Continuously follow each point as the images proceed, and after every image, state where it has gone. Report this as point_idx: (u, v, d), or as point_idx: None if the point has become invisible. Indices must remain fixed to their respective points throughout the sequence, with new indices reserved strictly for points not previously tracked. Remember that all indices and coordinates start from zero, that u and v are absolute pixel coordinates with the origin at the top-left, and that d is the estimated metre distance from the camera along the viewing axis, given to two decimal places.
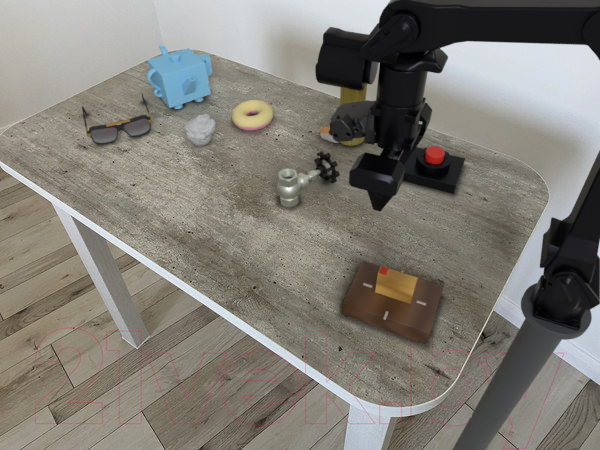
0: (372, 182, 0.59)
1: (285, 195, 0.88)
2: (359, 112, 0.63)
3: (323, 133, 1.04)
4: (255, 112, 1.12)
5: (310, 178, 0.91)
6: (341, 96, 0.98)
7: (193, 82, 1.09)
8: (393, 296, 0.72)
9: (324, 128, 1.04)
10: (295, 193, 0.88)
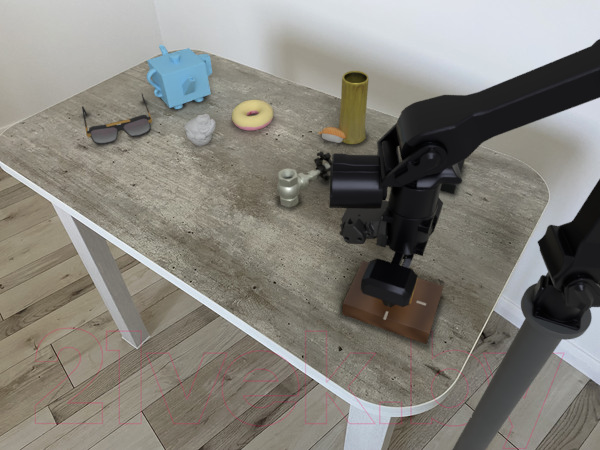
0: (385, 293, 0.58)
1: (285, 195, 0.88)
2: (370, 214, 0.62)
3: (325, 134, 1.04)
4: (255, 112, 1.12)
5: (310, 178, 0.91)
6: (343, 96, 0.98)
7: (193, 82, 1.09)
8: None
9: (326, 129, 1.04)
10: (295, 193, 0.88)
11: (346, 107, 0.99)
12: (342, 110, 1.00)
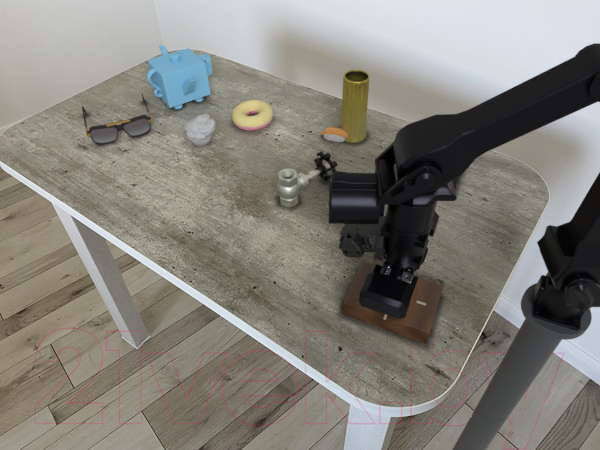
0: (382, 305, 0.60)
1: (285, 195, 0.88)
2: (368, 229, 0.64)
3: (327, 134, 1.04)
4: (255, 112, 1.12)
5: (310, 178, 0.91)
6: (344, 95, 0.98)
7: (193, 82, 1.09)
8: None
9: (327, 129, 1.04)
10: (295, 193, 0.88)
11: (348, 106, 0.99)
12: (344, 109, 1.00)
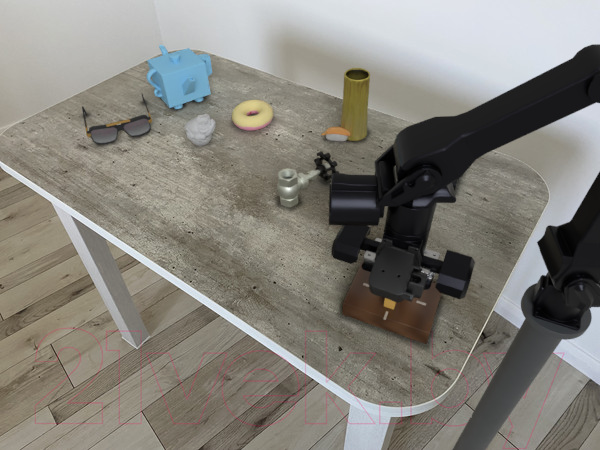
0: None
1: (285, 195, 0.88)
2: (401, 264, 0.60)
3: (330, 134, 1.04)
4: (255, 112, 1.12)
5: (310, 178, 0.91)
6: (346, 94, 0.98)
7: (193, 82, 1.09)
8: None
9: (330, 129, 1.04)
10: (295, 193, 0.88)
11: (350, 105, 0.99)
12: (346, 108, 1.00)
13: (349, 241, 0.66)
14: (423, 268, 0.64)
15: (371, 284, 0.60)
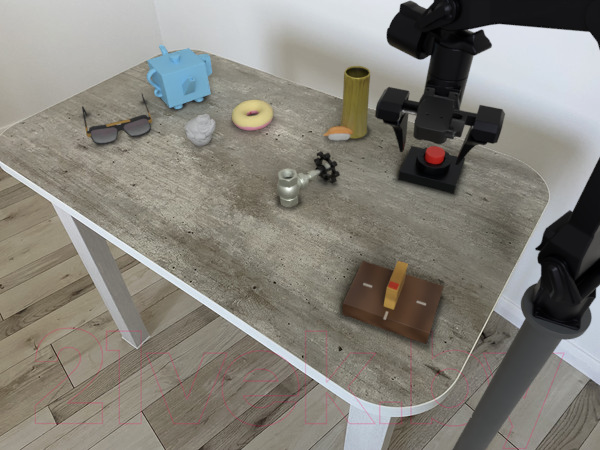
0: None
1: (285, 195, 0.88)
2: (443, 108, 0.68)
3: (333, 134, 1.04)
4: (255, 112, 1.12)
5: (310, 178, 0.91)
6: (347, 92, 0.99)
7: (193, 82, 1.09)
8: (399, 293, 0.72)
9: (332, 129, 1.04)
10: (295, 193, 0.88)
11: (353, 103, 1.00)
12: (348, 107, 1.01)
13: (392, 100, 0.74)
14: None
15: (417, 125, 0.68)
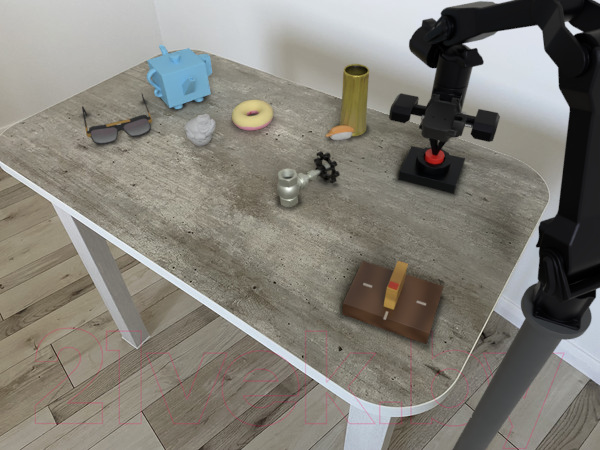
0: None
1: (285, 195, 0.88)
2: (446, 111, 0.81)
3: (336, 134, 1.04)
4: (255, 112, 1.12)
5: (310, 178, 0.91)
6: (348, 91, 0.99)
7: (193, 82, 1.09)
8: (399, 293, 0.72)
9: (335, 129, 1.04)
10: (295, 193, 0.88)
11: (354, 101, 1.00)
12: (349, 105, 1.01)
13: (403, 105, 0.87)
14: None
15: (424, 125, 0.81)
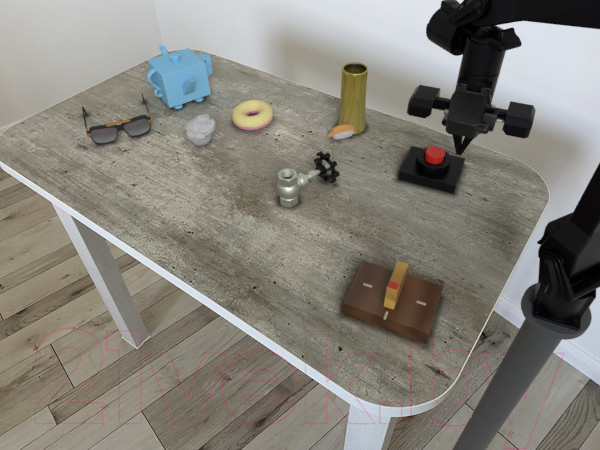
0: None
1: (285, 195, 0.88)
2: (475, 103, 0.70)
3: (338, 133, 1.04)
4: (255, 112, 1.12)
5: (310, 178, 0.91)
6: (349, 90, 1.00)
7: (193, 82, 1.09)
8: (399, 293, 0.72)
9: (336, 129, 1.04)
10: (295, 193, 0.88)
11: (355, 99, 1.01)
12: (349, 104, 1.02)
13: (424, 97, 0.76)
14: None
15: (450, 119, 0.70)
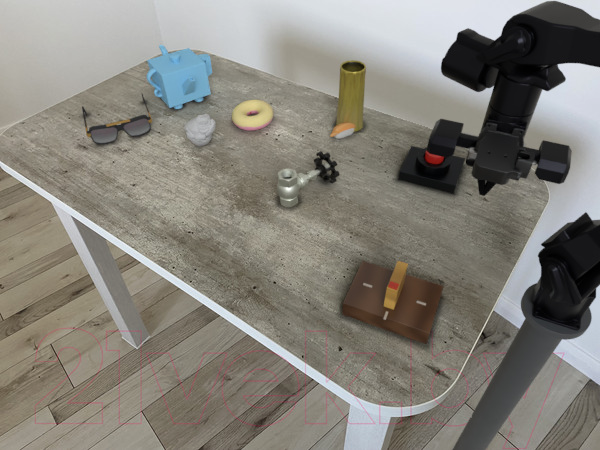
0: None
1: (285, 195, 0.88)
2: (506, 145, 0.62)
3: (341, 132, 1.04)
4: (255, 112, 1.12)
5: (310, 178, 0.91)
6: (349, 88, 1.00)
7: (193, 82, 1.09)
8: (399, 293, 0.72)
9: (338, 128, 1.04)
10: (295, 193, 0.88)
11: (355, 97, 1.01)
12: (350, 102, 1.02)
13: (446, 134, 0.68)
14: (521, 157, 0.66)
15: (478, 164, 0.62)
